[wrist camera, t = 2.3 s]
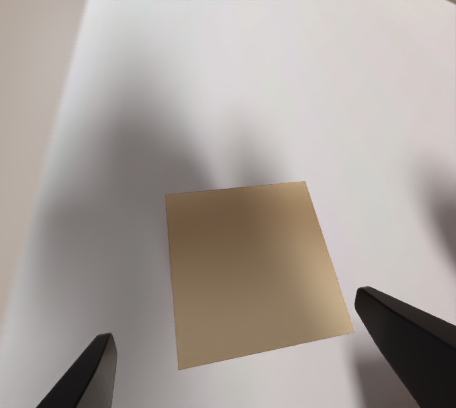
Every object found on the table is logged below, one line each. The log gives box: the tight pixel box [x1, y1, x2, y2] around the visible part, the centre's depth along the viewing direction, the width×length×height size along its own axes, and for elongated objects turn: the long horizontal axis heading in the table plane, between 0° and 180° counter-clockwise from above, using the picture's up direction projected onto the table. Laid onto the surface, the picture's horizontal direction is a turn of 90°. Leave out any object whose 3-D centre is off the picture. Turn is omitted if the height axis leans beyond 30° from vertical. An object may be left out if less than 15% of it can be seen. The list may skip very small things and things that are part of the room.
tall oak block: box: [165, 181, 355, 370], centre depth 12 cm, size 4×4×12 cm
